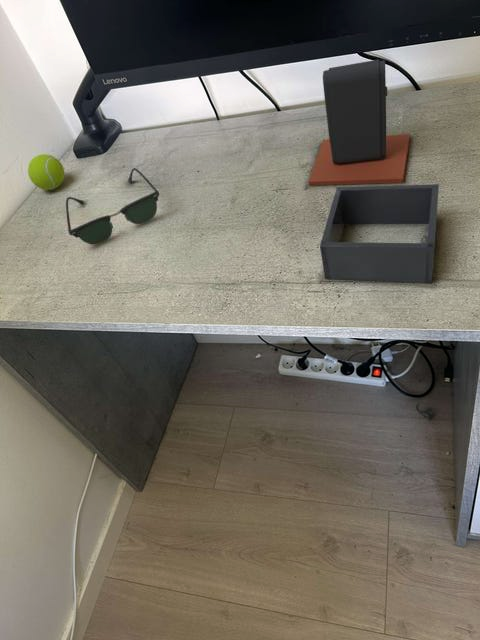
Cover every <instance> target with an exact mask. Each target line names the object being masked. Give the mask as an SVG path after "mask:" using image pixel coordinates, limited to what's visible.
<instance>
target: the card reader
mask: <svg viewBox="0 0 480 640" xmlns="http://www.w3.org/2000/svg"><path fill="white" fill-rule="evenodd" d="M386 83H387V82H386V60H380V59H373V60H368V61H362V62H361V61H360V62H356V63H351V64H344V65H339V66H333V67H329V68H328V69H326V70H323V72H322V86H323V95H324V96H323V97H324V104H325V105H324V107H325V113H326V122H327V123H326V124H327V130H328V131H327V132H328V139H329V140H330V147H331V154H332V161H333V163H338V164H345V163H354V162H362V161H371V160H379V159H381V158H383V157H386V136H387V97H388V86H387V85H386Z"/></svg>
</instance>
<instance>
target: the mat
mask: <svg viewBox="0 0 480 640" xmlns="http://www.w3.org/2000/svg"><path fill="white" fill-rule="evenodd" d="M410 139H411V134H410V133H406V134H405V133H404V134H403V133H402V134H389V135H386V157H383V158H381V159H379V160H371V161H362V162H354V163H345V164H338V163H333V161H332V154H331V147H330V140H329V138H328V139H322V141H321V144H320V148H319V150H318V153H317V156H316V159H315V162H314V165H313V168H312V170H311V173H310V175H309V176H310V177H309V178H308V179H309V180H308V186H340V185H341V186H342V185H344V186H345V185H371V184H376V185H377V184H378V185H379V184H403V183H404V177H405V171H406V165H407V159H408V152H409V145H410Z"/></svg>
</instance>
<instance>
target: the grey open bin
mask: <svg viewBox="0 0 480 640" xmlns="http://www.w3.org/2000/svg"><path fill="white" fill-rule="evenodd" d="M439 190H440V183H439V184H438V183H436V184H434V183H432V184H408V185H407V184H400V185H398V184H397V185H369V186H368V185H367V186H366V185H365V186H336V187H335V191H334V196H333V199H332V202H331V205H330V209H329V212H328V216H327V220H326V224H325V227H324V230H323V234H322V237H321V241H320V245H319V249H320V255H321V263H322V269H323V274H324V275H323V276H324V279H325V280H333V281H334V280H336V281H337V280H338V281H360V282H361V281H362V282H363V281H364V282H365V281H366V282H386V283H387V282H388V283H410V284H412V283H413V284H432V281H433V270H434V269H433V268H434V257H435V256H434V255H435V246H436V245H435V244H436V243H435V242H436V230H437V217H438V204H439V203H438V202H439ZM350 224H351V225H352V224H353V225H371V224H372V225H376V224H377V225H391V224H393V225H395V224H396V225H398V224H400V225H402V224H404V225H407V224H408V225H410V224H412V225H414V224H421V225H422V224H423V225H424V224H427V225H428V229H427V240H426V241H427V242H361V241H360V242H356V241H355V242H353V241H351V242H349V241H348V242H347V241H344V242H343V241H341V240H342V235H343V231H344V227H345V225H350Z"/></svg>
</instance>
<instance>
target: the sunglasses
mask: <svg viewBox="0 0 480 640" xmlns="http://www.w3.org/2000/svg"><path fill="white" fill-rule="evenodd" d="M134 171H136V172H137V173H138V174H139V175H140V176H141V177H142V178H143V179H144V181H145V182H146V183H147V184H148V185H149V186H150V187H151V189H152V190H153V191H154V192H151V193H150V194H147V195H145V196H142V197H140V198H139V199H137V200H134V201H132V202H130V203H129V204H126V205H125V206H123V207H122V208H121V209H120V210H118V211H116V212H114V213H112V214H107V215H103V216H100V217H98V218H94V219H92V220H90V221H88V222H86V223H83V224H81V225H79V226H76V227H75V228H72V227H71V219H70V212H69V201H70V200H72V201H75V202H77V203H79V204H80V205H82V206H83V205H84V200H82V199H78V198H76V197H72V196H68V197H67V198H66V199H65V213H66V223H67V231H68V234H69V236H73V237H74V238H77V239H78V238H79V239H80V240H81V241H82V242H84V243H86V244H87V245H93V246H94V245H99V244H102V243H105V242H106V241H108V240H109V239H110V238H111V236H112V234H113V229H114V224H113V223H112V221H111V218H113V217H116V216H118V215H120V214H122V215H124V218H125V219H126V221H127V222H130V223H132V224H134V225H143V224H146V223H148V222H150V221H151V220H152V219H153V218H154V217H155V216H156V214H157V211H158V203H157V202H158V201H159V196H160V192H159V190H158V189H156V187H155V186H154V185H153V184H152V183H151V182H150V180H148V178H147V177H146V176H145V175H144V174H143V173H142V172H141V171H140V170H139V169H138V168H136V167H133V168H132V169H131V170H130V174H129V176H128V180H127V182H128V183H129V184H131V183H133V182H132V181H133V174H134Z"/></svg>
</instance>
